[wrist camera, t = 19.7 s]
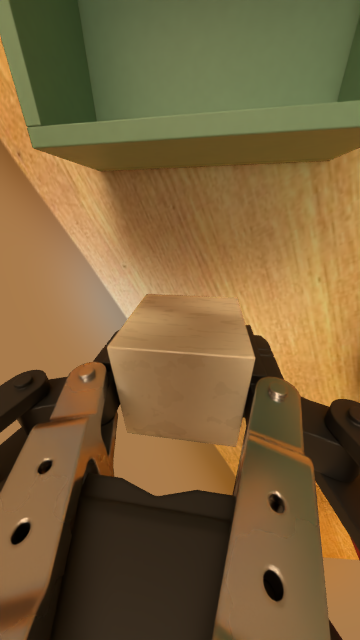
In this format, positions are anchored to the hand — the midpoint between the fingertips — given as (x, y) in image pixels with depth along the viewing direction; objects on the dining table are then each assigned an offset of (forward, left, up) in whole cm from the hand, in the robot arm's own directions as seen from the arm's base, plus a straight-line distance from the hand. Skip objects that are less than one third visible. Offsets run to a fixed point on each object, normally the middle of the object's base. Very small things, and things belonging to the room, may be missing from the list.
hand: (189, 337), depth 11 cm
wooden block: (0, 0, 0) cm, 0 cm away
